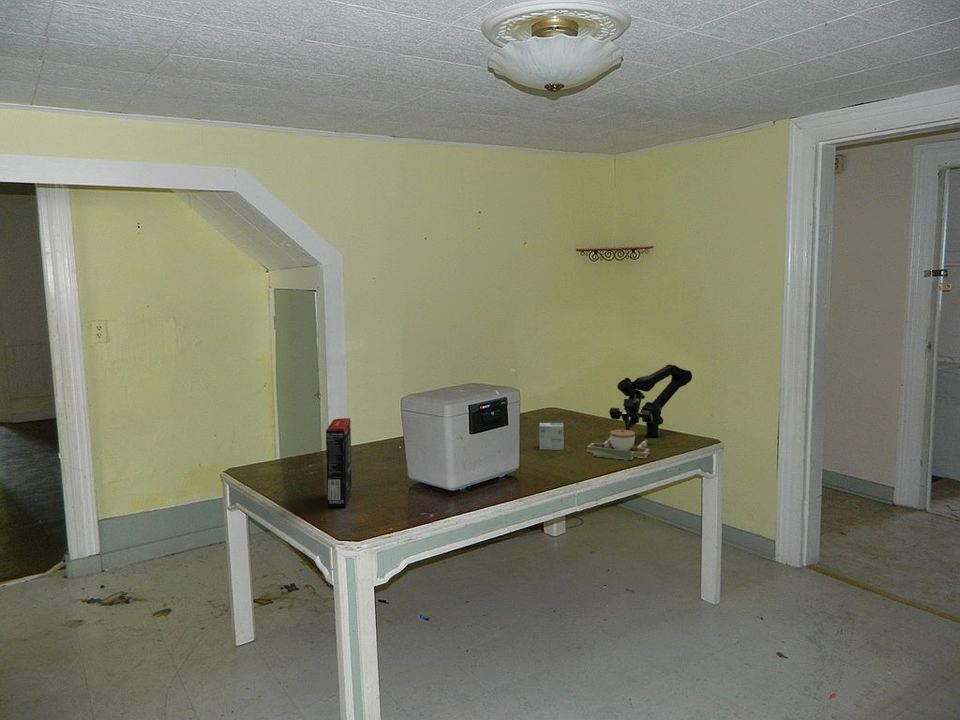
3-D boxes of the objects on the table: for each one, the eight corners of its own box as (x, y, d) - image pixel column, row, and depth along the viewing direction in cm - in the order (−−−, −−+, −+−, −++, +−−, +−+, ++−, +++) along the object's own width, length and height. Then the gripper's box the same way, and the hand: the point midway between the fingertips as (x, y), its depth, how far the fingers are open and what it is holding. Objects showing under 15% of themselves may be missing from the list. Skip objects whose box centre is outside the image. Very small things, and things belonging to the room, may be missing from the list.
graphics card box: (334, 492, 253) (331, 418, 250) (353, 492, 254) (351, 417, 250) (327, 509, 236) (323, 429, 233) (348, 508, 237) (345, 428, 233)
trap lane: (602, 440, 324) (602, 431, 323) (657, 446, 313) (657, 437, 312) (583, 455, 299) (583, 446, 299) (641, 462, 288) (642, 452, 288)
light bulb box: (563, 446, 315) (563, 422, 313) (563, 450, 308) (564, 425, 307) (539, 445, 316) (539, 422, 314) (539, 449, 309) (539, 425, 308)
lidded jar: (634, 447, 312) (634, 426, 311) (635, 453, 302) (635, 431, 300) (609, 446, 314) (610, 425, 313) (609, 452, 304) (610, 431, 302)
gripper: (610, 390, 321) (603, 418, 312) (652, 393, 312) (645, 422, 304) (615, 404, 329) (608, 432, 320) (655, 407, 320) (649, 436, 312)
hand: (627, 430), depth 314 cm, fingers closed
